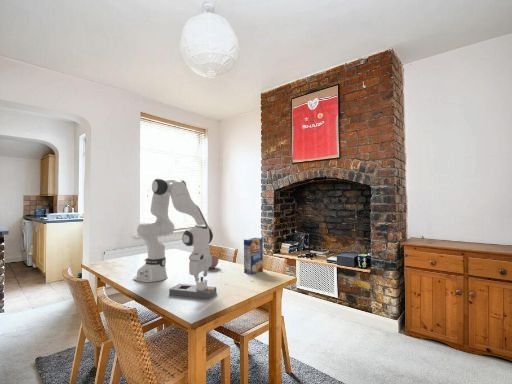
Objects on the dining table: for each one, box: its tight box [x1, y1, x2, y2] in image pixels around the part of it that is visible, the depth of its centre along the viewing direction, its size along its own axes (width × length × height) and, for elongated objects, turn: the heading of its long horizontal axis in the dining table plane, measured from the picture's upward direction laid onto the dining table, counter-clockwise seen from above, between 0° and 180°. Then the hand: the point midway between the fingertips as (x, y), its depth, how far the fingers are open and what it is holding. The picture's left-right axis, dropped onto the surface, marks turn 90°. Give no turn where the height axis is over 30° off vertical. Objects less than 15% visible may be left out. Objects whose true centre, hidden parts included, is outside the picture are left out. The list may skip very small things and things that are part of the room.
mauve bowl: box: [208, 252, 220, 270], centre depth 213 cm, size 12×12×12 cm
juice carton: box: [243, 237, 264, 275], centre depth 202 cm, size 12×8×24 cm, turn 135°
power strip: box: [168, 283, 217, 300], centre depth 154 cm, size 24×10×5 cm, turn 74°
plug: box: [195, 276, 208, 291], centre depth 153 cm, size 4×4×10 cm
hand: (201, 278), depth 153 cm, fingers open, 8 cm apart
